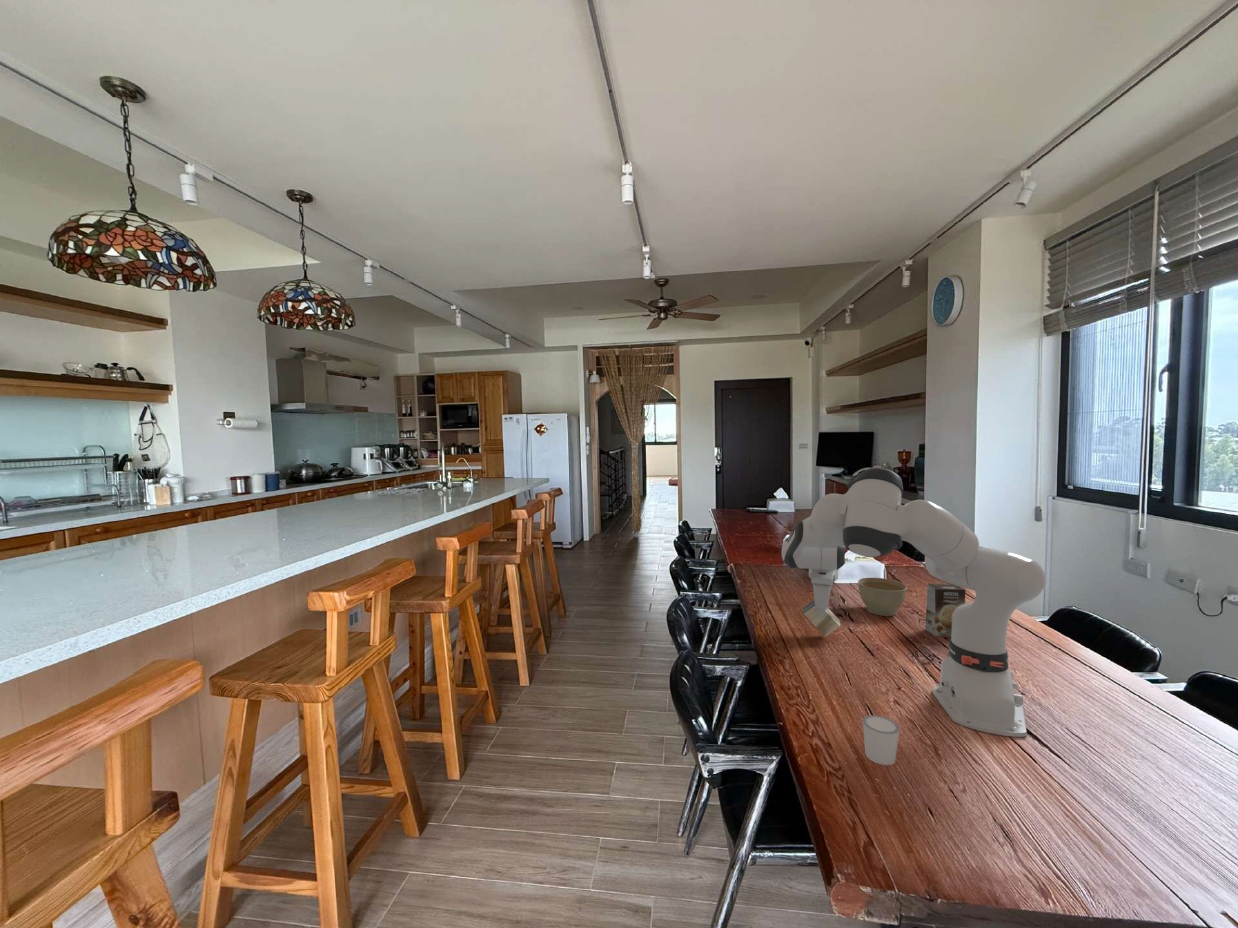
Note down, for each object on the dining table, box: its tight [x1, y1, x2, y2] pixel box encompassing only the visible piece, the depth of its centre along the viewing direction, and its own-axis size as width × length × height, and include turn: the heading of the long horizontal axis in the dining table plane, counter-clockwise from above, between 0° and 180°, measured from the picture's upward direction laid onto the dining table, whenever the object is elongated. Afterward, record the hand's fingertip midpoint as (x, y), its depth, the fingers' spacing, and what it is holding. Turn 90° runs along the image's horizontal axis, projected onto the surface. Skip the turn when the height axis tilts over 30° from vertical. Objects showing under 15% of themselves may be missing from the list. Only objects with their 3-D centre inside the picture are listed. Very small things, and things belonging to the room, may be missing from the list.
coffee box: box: [924, 583, 967, 638], centre depth 166 cm, size 9×6×16 cm
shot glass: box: [862, 714, 900, 766], centre depth 104 cm, size 7×7×7 cm
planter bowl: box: [857, 577, 907, 617], centre depth 186 cm, size 16×16×11 cm
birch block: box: [802, 599, 841, 638], centre depth 164 cm, size 5×6×10 cm
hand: (822, 613), depth 163 cm, fingers closed on birch block, 5 cm apart
